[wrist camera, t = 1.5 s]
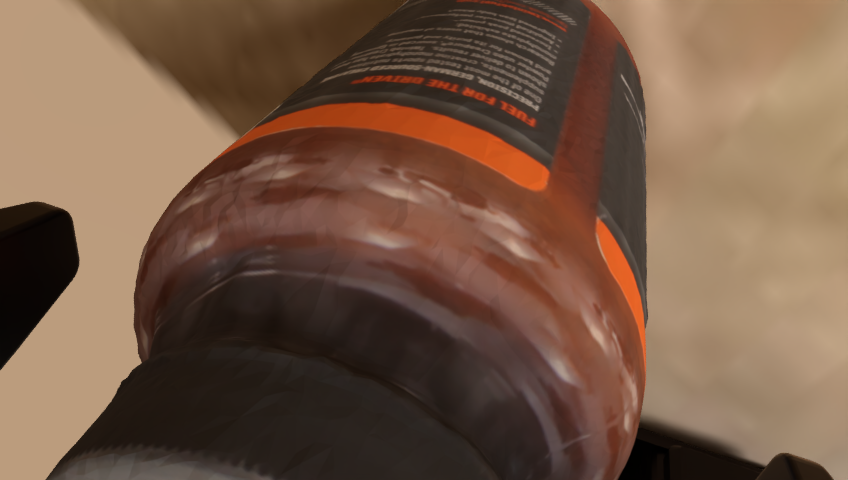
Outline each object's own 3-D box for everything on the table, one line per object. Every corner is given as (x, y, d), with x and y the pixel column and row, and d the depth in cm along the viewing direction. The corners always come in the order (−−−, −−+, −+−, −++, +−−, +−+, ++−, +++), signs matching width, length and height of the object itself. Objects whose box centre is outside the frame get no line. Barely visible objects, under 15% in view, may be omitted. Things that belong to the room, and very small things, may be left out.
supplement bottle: (330, 21, 14) (-242, 386, 5) (601, -91, 12) (447, 237, 2) (432, 245, 17) (174, 765, 7) (674, 194, 14) (731, 886, 5)
